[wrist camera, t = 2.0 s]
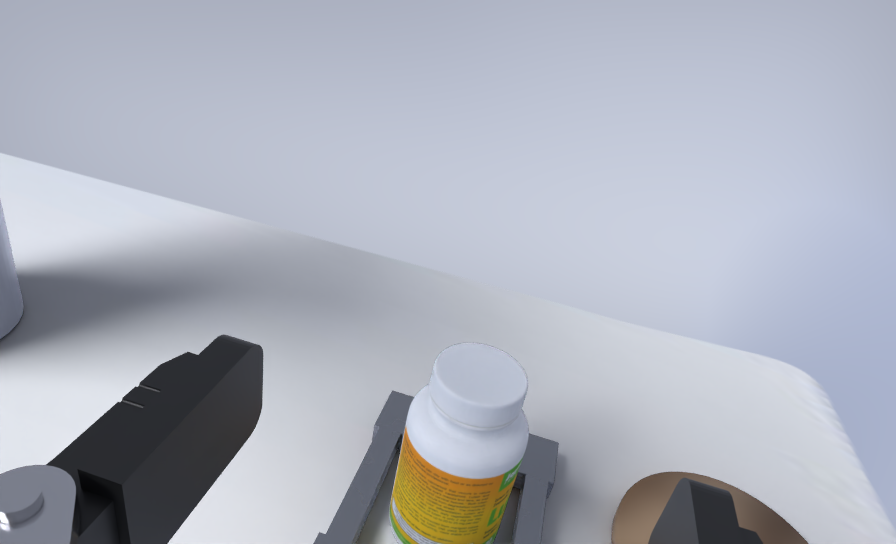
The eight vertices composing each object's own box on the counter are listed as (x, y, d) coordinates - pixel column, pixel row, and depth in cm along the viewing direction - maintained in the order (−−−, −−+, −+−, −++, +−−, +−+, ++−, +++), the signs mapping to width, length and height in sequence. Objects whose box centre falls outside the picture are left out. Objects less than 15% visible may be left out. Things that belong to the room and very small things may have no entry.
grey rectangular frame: (286, 611, 24) (287, 594, 24) (389, 405, 35) (392, 390, 35) (522, 699, 23) (530, 684, 22) (553, 457, 34) (558, 442, 34)
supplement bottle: (491, 586, 27) (546, 433, 22) (375, 558, 27) (405, 401, 22) (498, 490, 31) (545, 347, 27) (400, 467, 32) (429, 320, 27)
